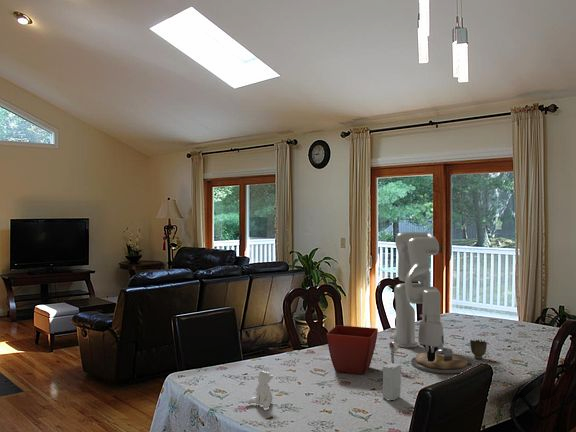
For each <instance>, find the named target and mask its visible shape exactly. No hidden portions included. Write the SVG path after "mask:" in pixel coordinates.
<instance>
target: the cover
mask: <svg viewBox="0 0 576 432" xmlns="http://www.w3.org/2000/svg"><path fill="white" fill-rule="evenodd" d="M437 354H442V355H444V361H450V360H452V354H453V348H449V347H443V349H440V350H437V351H436V356H437Z"/></svg>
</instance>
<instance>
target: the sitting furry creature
mask: <svg viewBox="0 0 576 432" xmlns="http://www.w3.org/2000/svg"><path fill="white" fill-rule="evenodd" d="M273 377H274V375H273V374H272V375H271V373H270V372H268V371H266V370H260V372H259V373H258V376H257V382H258V384H257V386H256V387H255V391H256V396H253V397H249V398H248V399H247V400H245V402H246V403H248V404H251V403H256V404H260V405H263V408H268V407H269V406H270V407H271V405H272V402H273V399H274V398H273V395H272V392H271V389H270V388H271V387H270V386H269V384H268V383H270V382H271V380H272V379H273ZM270 404H271V405H270ZM260 405H259V406H260ZM263 408H262V409H263Z"/></svg>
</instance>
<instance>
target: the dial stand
mask: <svg viewBox="0 0 576 432" xmlns="http://www.w3.org/2000/svg"><path fill="white" fill-rule="evenodd" d="M388 346H389V349H390V352H391V353H390V356H391V360H390V361H391V362H390V363H393V364H395V352H397V351H398V350H399V349H400V347H399V346H398V344H397V343H396V342H393V341H391V342H390V343H389V345H388Z"/></svg>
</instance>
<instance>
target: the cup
mask: <svg viewBox="0 0 576 432" xmlns="http://www.w3.org/2000/svg"><path fill="white" fill-rule="evenodd" d="M469 343H470V350H471V353H472V354H473V357H474V359H477V360H481V359H483V358H484V357H483V356H484V355H485V354H486V352H487V348H488V347H487V345H488V344H487V341H486V340H480V339H470V340H469Z"/></svg>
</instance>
